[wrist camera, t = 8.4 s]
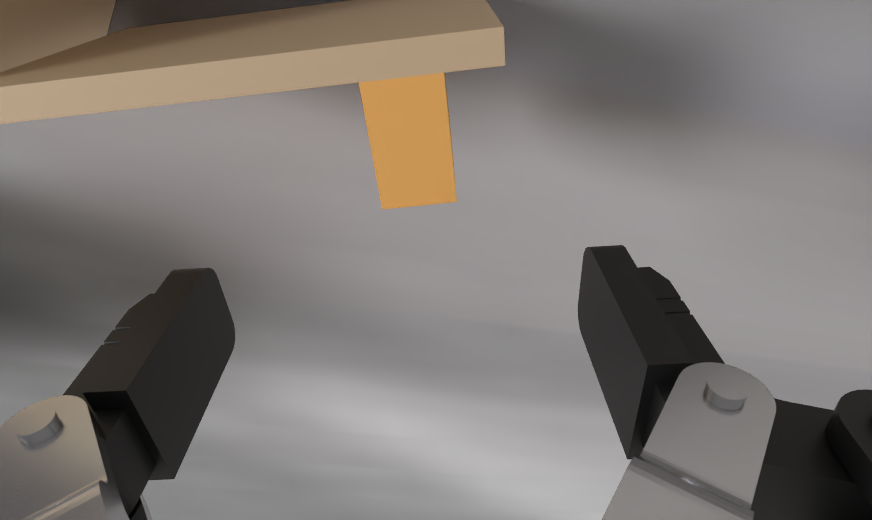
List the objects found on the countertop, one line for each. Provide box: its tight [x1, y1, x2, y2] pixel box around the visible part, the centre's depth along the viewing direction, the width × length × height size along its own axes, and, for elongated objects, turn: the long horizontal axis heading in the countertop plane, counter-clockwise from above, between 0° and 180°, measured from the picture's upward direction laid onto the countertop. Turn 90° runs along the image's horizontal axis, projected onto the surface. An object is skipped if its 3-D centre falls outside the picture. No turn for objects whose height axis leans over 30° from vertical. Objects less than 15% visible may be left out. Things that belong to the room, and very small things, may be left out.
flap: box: [0, 0, 505, 209], centre depth 20 cm, size 5×16×11 cm, turn 96°
